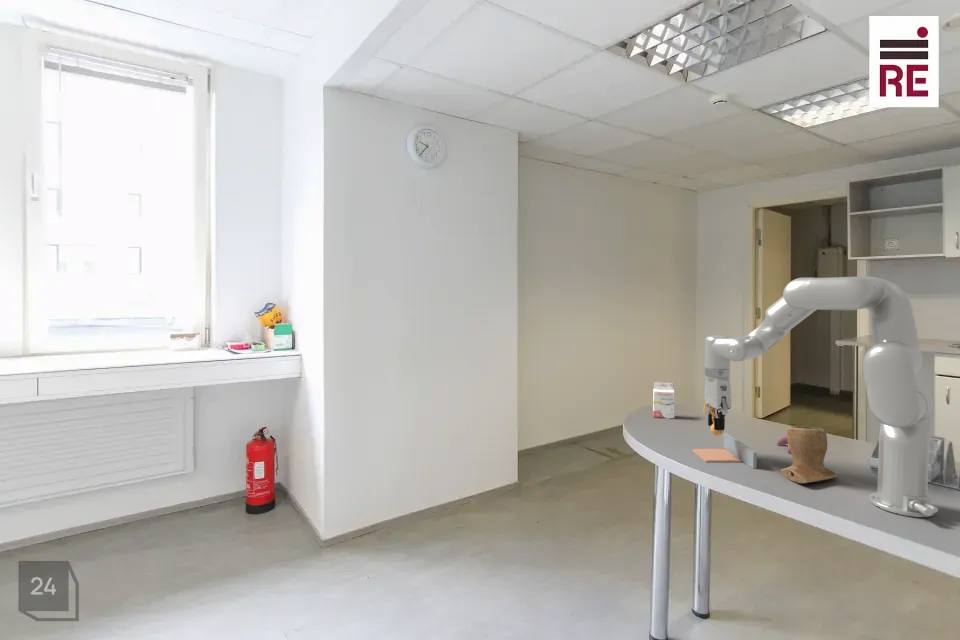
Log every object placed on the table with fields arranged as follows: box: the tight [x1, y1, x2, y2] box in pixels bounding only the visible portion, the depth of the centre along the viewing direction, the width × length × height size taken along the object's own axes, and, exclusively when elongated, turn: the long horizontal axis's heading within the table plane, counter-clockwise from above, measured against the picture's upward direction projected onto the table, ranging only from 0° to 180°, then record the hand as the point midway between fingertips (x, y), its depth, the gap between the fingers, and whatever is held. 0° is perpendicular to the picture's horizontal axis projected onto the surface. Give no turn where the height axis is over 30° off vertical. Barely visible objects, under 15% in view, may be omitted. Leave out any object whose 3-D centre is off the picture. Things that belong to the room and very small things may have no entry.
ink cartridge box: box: [652, 381, 676, 419], centre depth 209 cm, size 9×5×15 cm, turn 72°
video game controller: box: [776, 433, 792, 455], centre depth 166 cm, size 10×5×7 cm, turn 169°
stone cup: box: [780, 425, 839, 484], centre depth 142 cm, size 15×12×15 cm
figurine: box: [703, 402, 725, 436], centre depth 161 cm, size 8×6×12 cm
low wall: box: [723, 432, 758, 469], centre depth 160 cm, size 20×1×5 cm, turn 178°
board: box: [692, 448, 742, 463], centre depth 161 cm, size 11×11×1 cm
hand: (716, 427), depth 160 cm, fingers closed on figurine, 3 cm apart
